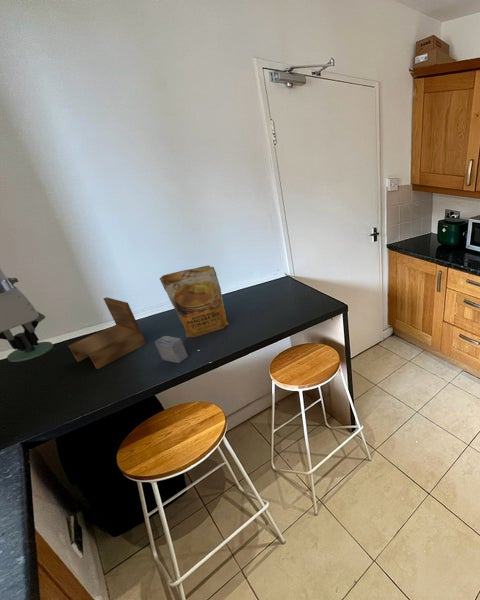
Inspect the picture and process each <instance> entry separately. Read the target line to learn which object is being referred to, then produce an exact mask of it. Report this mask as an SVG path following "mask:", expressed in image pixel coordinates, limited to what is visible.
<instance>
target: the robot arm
mask: <svg viewBox="0 0 480 600" xmlns="http://www.w3.org/2000/svg"><path fill="white" fill-rule="evenodd" d="M17 283H19V280H18V278H17V277H8V276H7V274H6V273H5V271H4V270H3V268H2V265H0V340H5V341H7V342H8V343H9V346H11V349H13V350H17V349H18V350H20V351H24V350H25V348H24V347H23V345H22V344H21V342H20V341H19V339H18V338H15V335H13V333H12V332H11V330H12V329H14V328H17V327H20V326H21V327H22V328H23V332H25V333H26V334H27V336H28V337H29V339H30V340H31V342H32V343H33V345H39V344H38V342H39V340H40V339H39V338H38V336H37V334H36V333H35V332H36V329H37V327H38V325H39V323H41V322H42V321H44V320H45V319H46V315H45V314H42V312H41V313H40V312H39V311H38V310H37V309H36V308H35V306H34V305H33V303H32V302H31V301H30V300H29V298H28V297H27V296H26V295H25V293H23V291H22V290H21V289H20V288H19V287H17V286H16V285H15V284H17Z"/></svg>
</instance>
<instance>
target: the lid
mask: <svg viewBox="0 0 480 600" xmlns="http://www.w3.org/2000/svg"><path fill="white" fill-rule="evenodd" d="M14 336H15V338H18V339H19V341H20V342H21V344H22V345H23V347H24V348H25V350H24V351H20V350H18V349H14V350H13V351H11V352H10V353H8V354H7V357H6V359H7V360H8V361H9V362H12V363H17V362H18V363H19V362H23V361H28V360H31V359H32V360H33V359H34V358H38V357H40V356H42V355H44V354H46V353H48V352H50V351H51V350H52V349H53V348H54V344H53V342H51V341H37V342H38V344H39V345H33V343H32V342H31V340H30V339H29V337H28V336H27V334H26V333H25V332H24V331H23V332H18V333H16V334H14Z"/></svg>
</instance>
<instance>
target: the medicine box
mask: <svg viewBox="0 0 480 600" xmlns="http://www.w3.org/2000/svg"><path fill="white" fill-rule="evenodd" d="M154 344H155V347H156V349H157V351H158V353H159V356H160V358H161V360H162V361H165V362H170V363H175V364H180V363H182V362H183V361H185V360H186V359H187V358H189V355H188V353H187V350H186V347H185V345H184V343H183V341H182V338H180V337H175V336H170V335H169V336H168V335H163V336H161V337H160V338H158V339H157V340H155V341H154Z"/></svg>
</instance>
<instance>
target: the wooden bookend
mask: <svg viewBox="0 0 480 600" xmlns="http://www.w3.org/2000/svg"><path fill="white" fill-rule="evenodd" d="M103 301H104V303H105V305H106V307H107V309H108V311H109V313H110V315H111V317H112V320H113V321H114V323H115V324H114V325H112V326H110V327H107V328H105V329H103V330H101V331H98V332H96V333H94V334H91V335H89V336H87V337H84V338H83V339H79V340H78V341H76V342H72V343H71V344H69V345H67V347H68V349H69V350H70V352H71V354H72V355H73V357H74V359H75V360H76V362H81V361H83V360H85V359H87V358H90V360H91V362H92V364H93V365H94V368H95V369H97V370H99V369H101V368H103V367H105V366H107V365H108V364H110V363H112V362H114V361H116V360H118V359H120V358H122V357H124V356H126V355H128V354H130V353H132V352H133V351H136V350H137V349H140V348H142V347H143V346H146V345H147V342H146V340H145V337H144V335H143V333H142V331H141V328H140V326H139V325H138V321H137V320H136V318H135V316H134V313H133V311H132V308H131V306H130V304H129V302H126V301H124V300H123V301H122V300H120V299H116V298H112V297H104V298H103Z"/></svg>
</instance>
